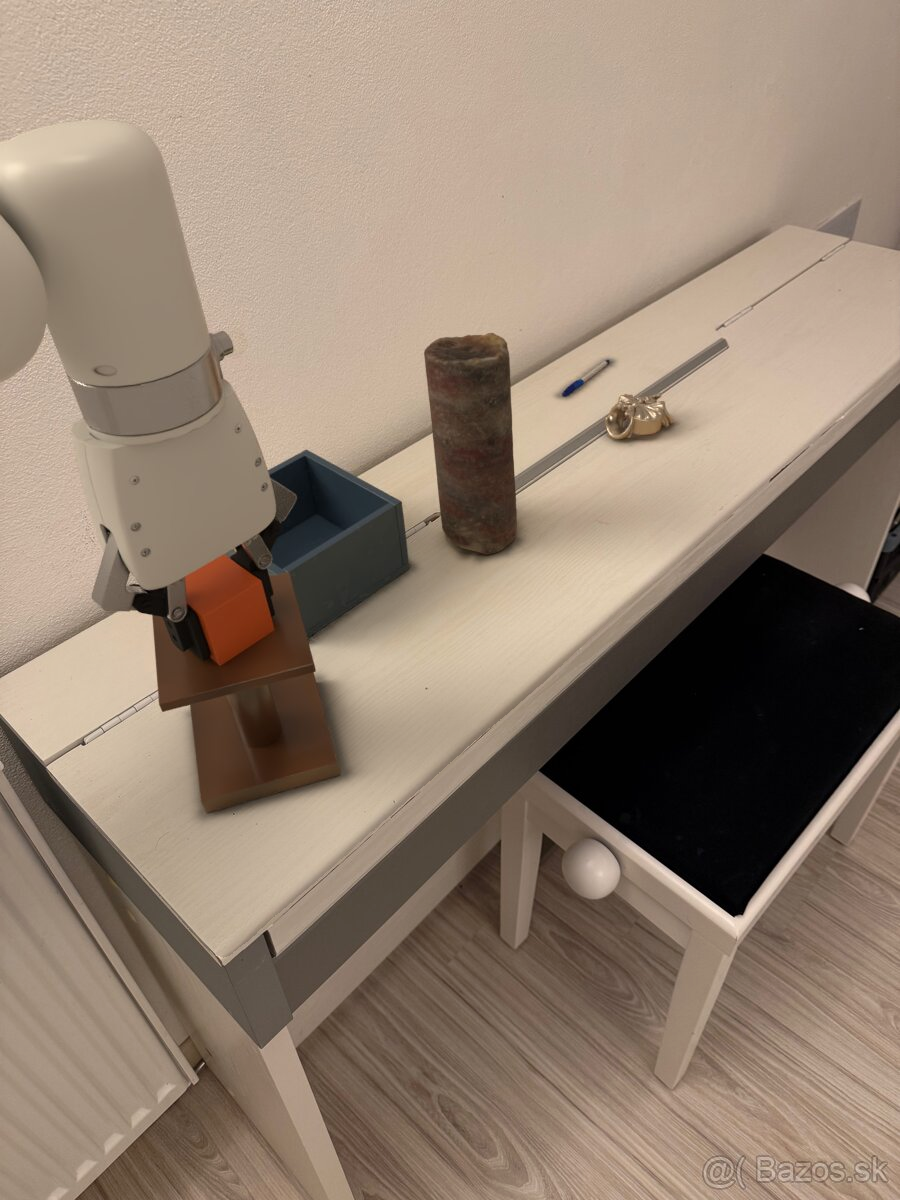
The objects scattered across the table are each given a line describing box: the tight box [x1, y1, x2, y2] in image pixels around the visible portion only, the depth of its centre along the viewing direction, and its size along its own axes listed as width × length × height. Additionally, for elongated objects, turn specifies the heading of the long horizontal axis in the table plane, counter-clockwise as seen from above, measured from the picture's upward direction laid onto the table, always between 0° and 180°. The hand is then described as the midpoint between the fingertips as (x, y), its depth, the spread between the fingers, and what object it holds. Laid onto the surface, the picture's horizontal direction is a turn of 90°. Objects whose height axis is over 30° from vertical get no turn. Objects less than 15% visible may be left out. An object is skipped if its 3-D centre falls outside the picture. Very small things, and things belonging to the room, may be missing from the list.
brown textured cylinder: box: [423, 332, 518, 555], centre depth 78 cm, size 8×7×20 cm
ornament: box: [604, 392, 675, 440], centre depth 96 cm, size 8×7×4 cm
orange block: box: [185, 554, 275, 666], centre depth 57 cm, size 4×4×4 cm
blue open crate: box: [224, 449, 411, 639], centre depth 79 cm, size 14×14×8 cm
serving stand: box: [151, 572, 341, 814], centre depth 63 cm, size 10×10×12 cm
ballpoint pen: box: [561, 359, 611, 398], centre depth 107 cm, size 10×1×1 cm, turn 143°
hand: (227, 626), depth 58 cm, fingers closed on orange block, 4 cm apart
